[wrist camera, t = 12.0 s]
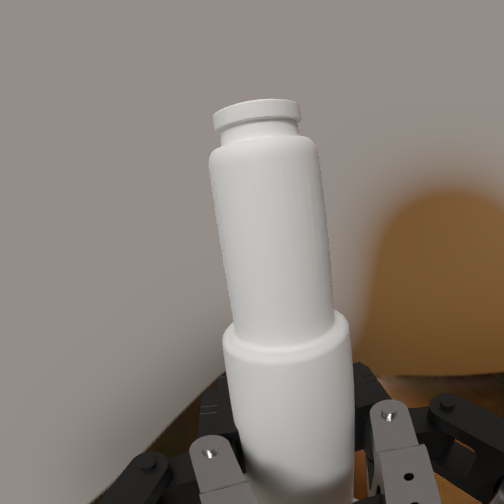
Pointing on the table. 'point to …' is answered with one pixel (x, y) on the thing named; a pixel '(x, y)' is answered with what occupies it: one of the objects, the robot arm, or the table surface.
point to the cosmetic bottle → (282, 309)
